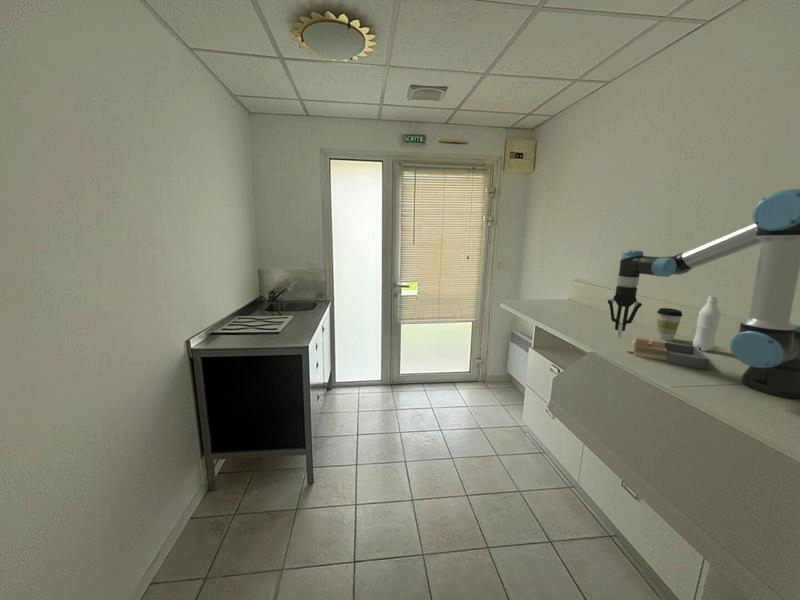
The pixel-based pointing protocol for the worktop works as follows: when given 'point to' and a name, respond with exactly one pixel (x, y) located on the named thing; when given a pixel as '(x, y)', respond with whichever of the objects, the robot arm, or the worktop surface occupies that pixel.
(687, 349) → the tray
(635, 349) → the board
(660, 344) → the tile
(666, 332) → the coffee cup
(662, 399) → the worktop surface
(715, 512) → the worktop surface
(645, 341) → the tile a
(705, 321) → the water bottle
